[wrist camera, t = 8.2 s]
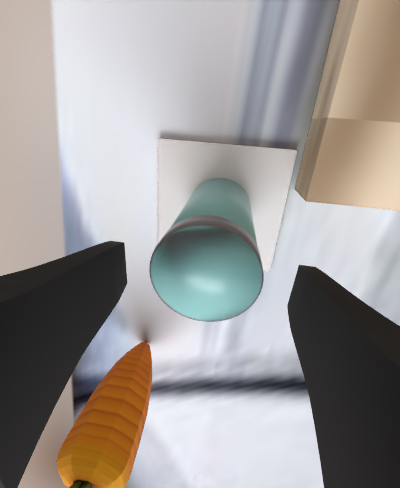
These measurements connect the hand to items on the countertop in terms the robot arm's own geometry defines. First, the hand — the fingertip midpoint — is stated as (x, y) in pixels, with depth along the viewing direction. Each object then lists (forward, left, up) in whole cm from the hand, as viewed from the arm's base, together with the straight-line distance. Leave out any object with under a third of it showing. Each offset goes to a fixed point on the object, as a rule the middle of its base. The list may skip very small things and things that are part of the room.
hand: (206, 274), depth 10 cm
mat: (0, 0, -9) cm, 9 cm away
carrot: (+6, +15, -9) cm, 19 cm away
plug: (0, 0, -9) cm, 9 cm away
